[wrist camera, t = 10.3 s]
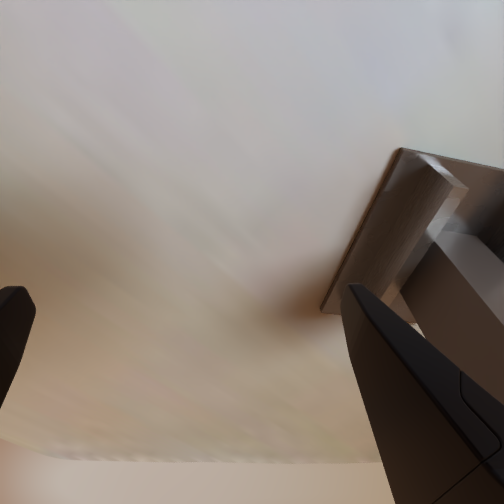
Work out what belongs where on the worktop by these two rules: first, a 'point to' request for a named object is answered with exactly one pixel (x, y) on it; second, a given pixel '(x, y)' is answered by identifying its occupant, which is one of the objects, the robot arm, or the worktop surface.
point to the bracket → (419, 223)
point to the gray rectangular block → (462, 306)
